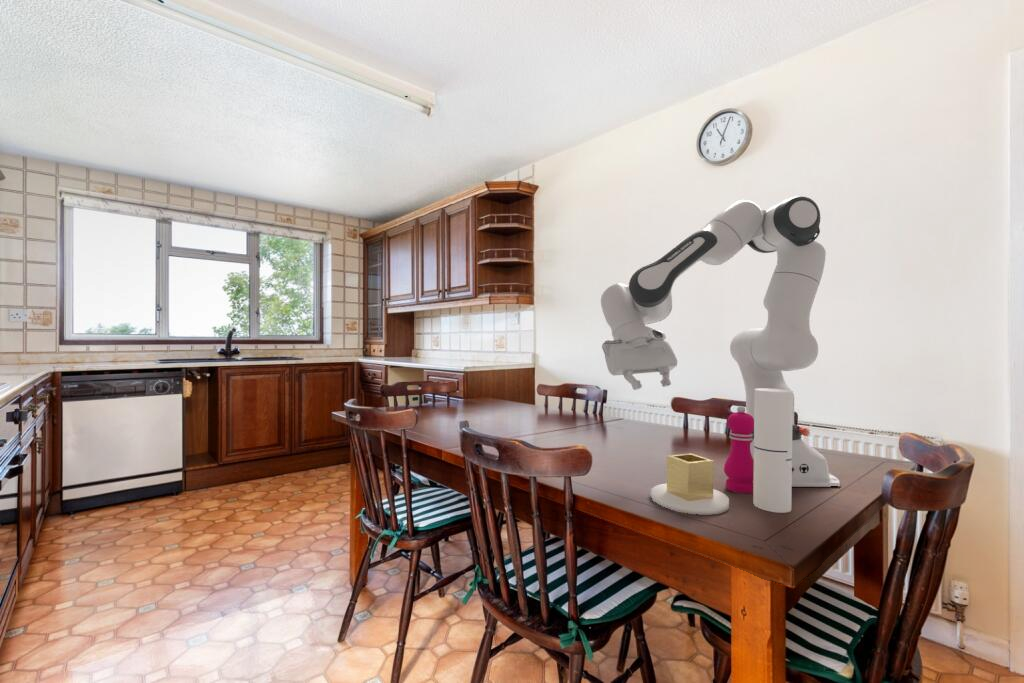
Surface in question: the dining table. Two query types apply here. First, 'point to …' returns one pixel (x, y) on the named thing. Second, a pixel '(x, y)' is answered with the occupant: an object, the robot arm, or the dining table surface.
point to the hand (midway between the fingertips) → (652, 387)
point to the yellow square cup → (690, 476)
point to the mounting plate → (690, 502)
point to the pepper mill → (740, 453)
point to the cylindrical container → (773, 449)
